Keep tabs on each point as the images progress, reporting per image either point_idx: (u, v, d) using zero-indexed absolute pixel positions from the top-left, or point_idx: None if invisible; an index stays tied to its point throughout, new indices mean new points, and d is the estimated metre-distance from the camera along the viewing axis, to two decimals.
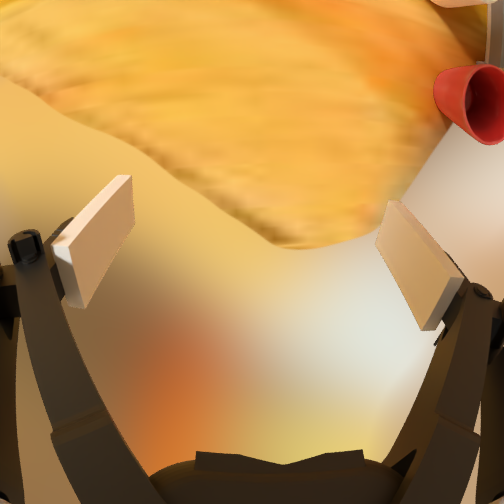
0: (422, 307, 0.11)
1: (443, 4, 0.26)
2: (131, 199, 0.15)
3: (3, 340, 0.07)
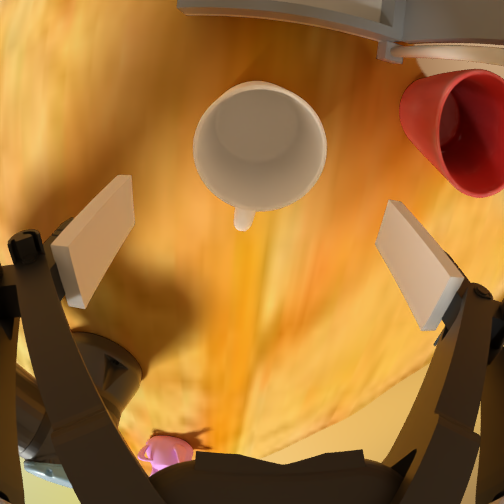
0: (422, 307, 0.11)
1: None
2: (131, 199, 0.15)
3: (3, 340, 0.07)
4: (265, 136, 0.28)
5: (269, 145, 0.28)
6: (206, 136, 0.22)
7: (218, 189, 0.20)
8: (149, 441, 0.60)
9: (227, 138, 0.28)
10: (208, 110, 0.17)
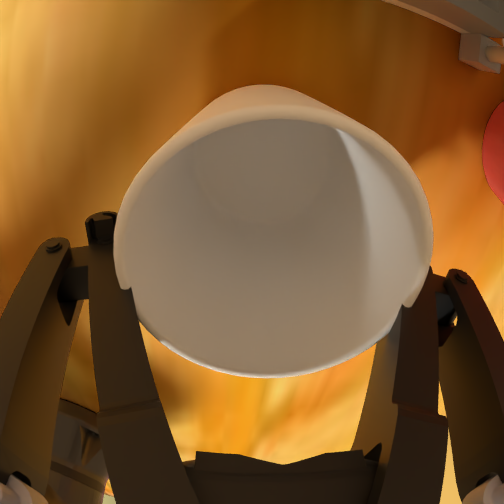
0: None
1: None
2: None
3: (60, 325, 0.08)
4: (278, 181, 0.17)
5: (285, 196, 0.17)
6: (165, 204, 0.11)
7: (186, 339, 0.10)
8: None
9: (214, 185, 0.17)
10: (136, 183, 0.06)
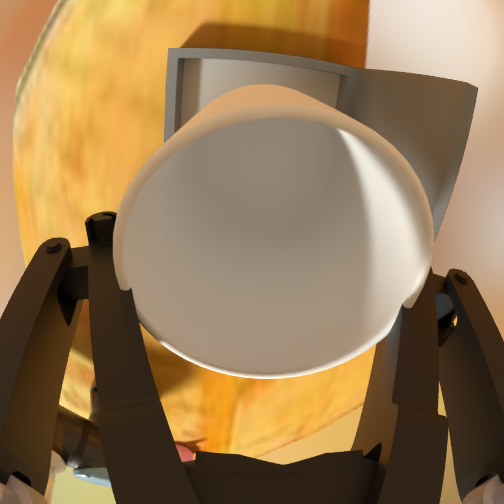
0: None
1: None
2: None
3: (60, 325, 0.08)
4: (278, 181, 0.17)
5: (285, 196, 0.17)
6: (165, 204, 0.11)
7: (186, 339, 0.10)
8: None
9: (214, 185, 0.17)
10: (135, 183, 0.06)
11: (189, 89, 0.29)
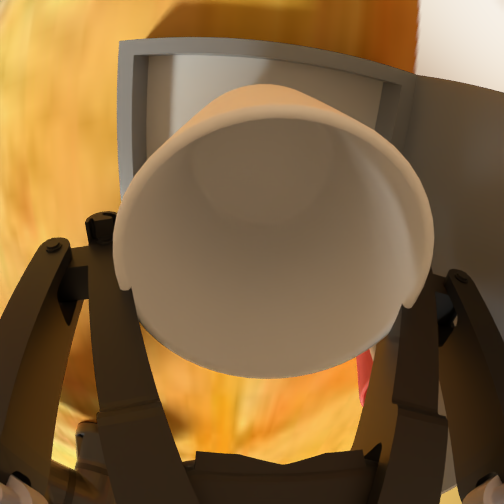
0: None
1: None
2: None
3: (61, 325, 0.08)
4: (278, 181, 0.17)
5: (285, 196, 0.17)
6: (165, 204, 0.11)
7: (186, 339, 0.10)
8: None
9: (214, 185, 0.17)
10: (135, 183, 0.06)
11: (157, 102, 0.19)
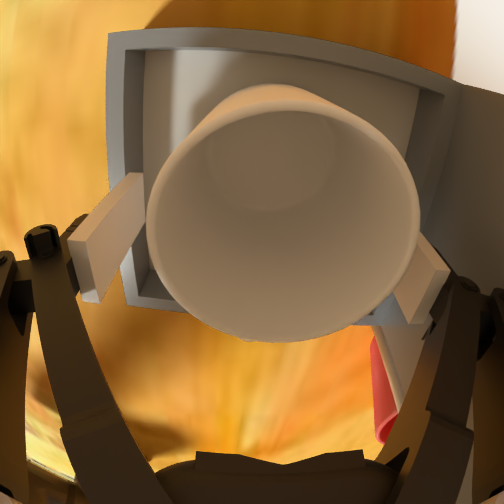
0: (409, 300, 0.11)
1: None
2: (142, 196, 0.15)
3: (15, 336, 0.07)
4: (285, 172, 0.18)
5: (291, 186, 0.18)
6: (185, 187, 0.13)
7: (203, 304, 0.11)
8: None
9: (226, 174, 0.18)
10: (171, 160, 0.08)
11: (155, 106, 0.16)
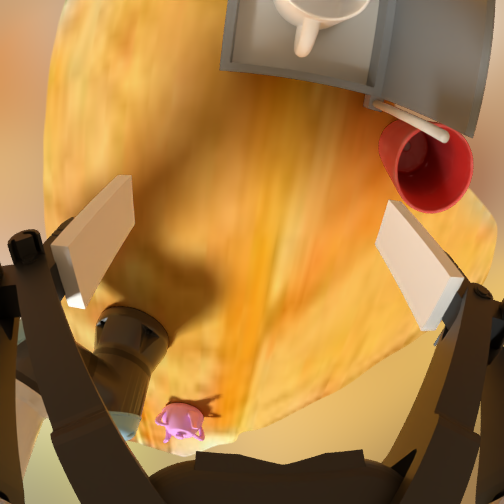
0: (422, 307, 0.11)
1: None
2: (131, 199, 0.15)
3: (3, 340, 0.07)
4: (316, 8, 0.27)
5: (319, 15, 0.27)
6: None
7: (293, 3, 0.20)
8: (166, 408, 0.73)
9: None
10: None
11: None
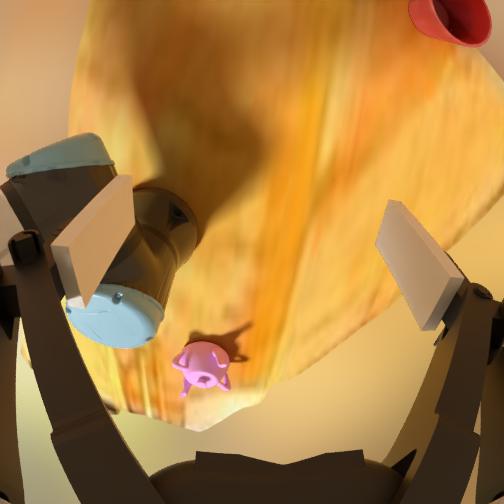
0: (422, 307, 0.11)
1: None
2: (131, 199, 0.15)
3: (3, 340, 0.07)
4: None
5: None
6: None
7: None
8: (185, 348, 0.66)
9: None
10: None
11: None
